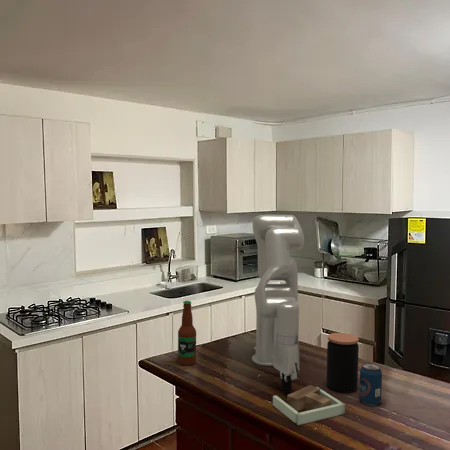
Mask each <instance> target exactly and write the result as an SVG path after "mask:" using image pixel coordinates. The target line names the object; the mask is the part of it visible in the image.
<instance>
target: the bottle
mask: <svg viewBox="0 0 450 450" xmlns="http://www.w3.org/2000/svg"><path fill="white" fill-rule="evenodd" d="M182 303H183V305H182V307H183V309H182V314H181V315H182V316H181V324H180V327H179V328H178V330H177V363H178V364H179V365H180V366H187V367H188V366H192V365H194V364H196V361H197V330H196V328H195V326H194V324H193V322H194V321H193V320H194V319H193V313H192V301H190V300H185V301H183V302H182Z"/></svg>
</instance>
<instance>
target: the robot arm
mask: <svg viewBox="0 0 450 450" xmlns="http://www.w3.org/2000/svg"><path fill="white" fill-rule="evenodd" d="M252 233H253V236H254V238H255V242H256V245H257V274H258V277H259V282H258V284H257V286H256V288H255V289H254V302H255V311H256V312H255V313H256V315H255V317H256V321H255V323H256V324H255V325H256V329H255V330H256V332H255V336H256V337H255V346H254V347H253V350H255V354H253V355H252V357H251V360H252V361H251V362H253V363H255V364H256V365H259V366H269V367H272V366H273V368H275V369H276V370H277V371H279V377H280V391H281V392H283V393H288V392H289V393H290V392H292V385H293V384H292V383H293V382H292V381H293V380H297V379H298V374H300V369H301V368H300V364H301V363H300V362H301V361H300V348H299V337H300V336H299V333H300V332H299V331H300V305H299V302H298V300H299V288H298V287H299V286H298V284H299V283H298V281H299V280H298V278H299V277H298V264H297V262H296V260H295V259H294V258H292V257H291V256H290V255H291V254H290V250H302V249H303V247H304V245H305V236H304V231H303V229H302V226H301V224H300V223H299V220H298V218H297V217H296V216H295V215H293V214H276V213H275V214H269V213H268V214H259V215H256V216H255V217H254V218H253V220H252ZM270 281H284V282H285V283H270Z"/></svg>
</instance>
